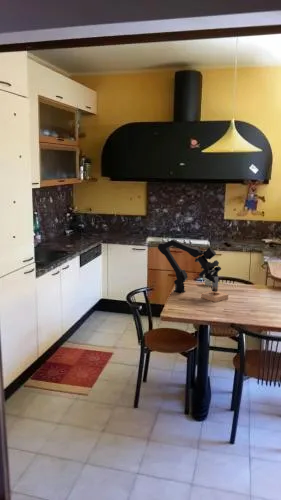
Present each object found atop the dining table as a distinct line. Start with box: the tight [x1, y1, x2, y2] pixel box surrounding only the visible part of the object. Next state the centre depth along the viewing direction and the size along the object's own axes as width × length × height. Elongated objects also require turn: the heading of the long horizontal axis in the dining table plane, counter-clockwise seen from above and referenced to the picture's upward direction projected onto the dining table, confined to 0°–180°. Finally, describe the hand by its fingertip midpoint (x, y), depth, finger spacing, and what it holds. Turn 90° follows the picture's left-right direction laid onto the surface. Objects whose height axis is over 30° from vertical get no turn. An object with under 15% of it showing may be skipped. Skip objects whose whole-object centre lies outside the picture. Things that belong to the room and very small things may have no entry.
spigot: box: [211, 275, 219, 292], centre depth 277 cm, size 4×4×10 cm
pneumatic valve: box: [200, 275, 212, 286], centre depth 310 cm, size 6×12×12 cm, turn 77°
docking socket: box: [200, 290, 229, 303], centre depth 278 cm, size 13×13×3 cm
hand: (216, 282), depth 275 cm, fingers closed on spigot, 4 cm apart
